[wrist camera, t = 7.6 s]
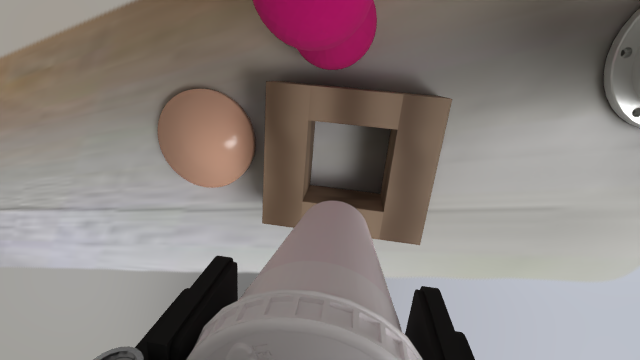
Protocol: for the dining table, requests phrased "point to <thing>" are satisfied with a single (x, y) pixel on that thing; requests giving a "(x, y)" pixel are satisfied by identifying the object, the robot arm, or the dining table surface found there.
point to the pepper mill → (322, 28)
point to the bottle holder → (363, 110)
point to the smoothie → (313, 300)
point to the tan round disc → (206, 137)
